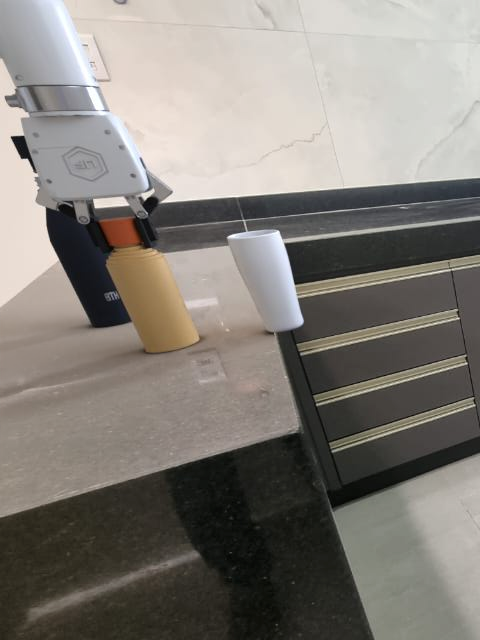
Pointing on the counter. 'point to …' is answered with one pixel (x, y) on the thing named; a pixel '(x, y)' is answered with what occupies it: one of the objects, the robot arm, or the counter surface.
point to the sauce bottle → (151, 298)
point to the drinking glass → (267, 278)
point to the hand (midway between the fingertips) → (130, 247)
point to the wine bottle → (81, 261)
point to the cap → (120, 231)
